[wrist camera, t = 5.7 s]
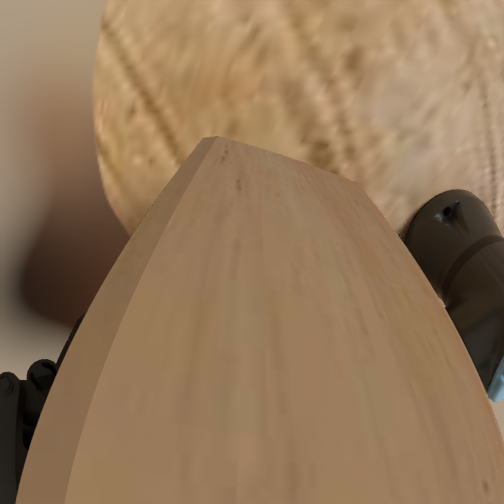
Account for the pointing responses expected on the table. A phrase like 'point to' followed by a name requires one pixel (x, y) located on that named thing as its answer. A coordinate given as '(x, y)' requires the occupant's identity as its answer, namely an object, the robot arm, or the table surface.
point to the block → (265, 357)
